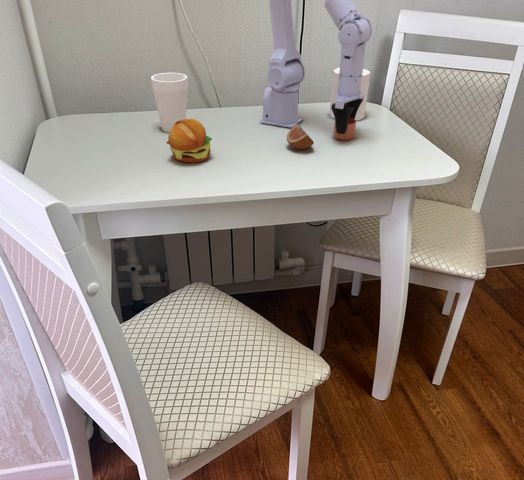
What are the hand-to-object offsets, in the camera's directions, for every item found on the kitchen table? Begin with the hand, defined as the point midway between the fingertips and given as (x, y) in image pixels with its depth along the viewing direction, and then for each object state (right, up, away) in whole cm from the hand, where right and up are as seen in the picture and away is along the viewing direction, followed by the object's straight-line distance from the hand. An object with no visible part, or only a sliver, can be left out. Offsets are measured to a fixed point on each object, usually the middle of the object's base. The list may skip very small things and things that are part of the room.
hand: (344, 129), depth 145 cm
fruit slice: (-12, -7, -5) cm, 15 cm away
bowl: (0, -1, +1) cm, 2 cm away
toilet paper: (+3, +10, +16) cm, 19 cm away
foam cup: (-46, +2, +5) cm, 47 cm away
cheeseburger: (-39, -12, -11) cm, 43 cm away
